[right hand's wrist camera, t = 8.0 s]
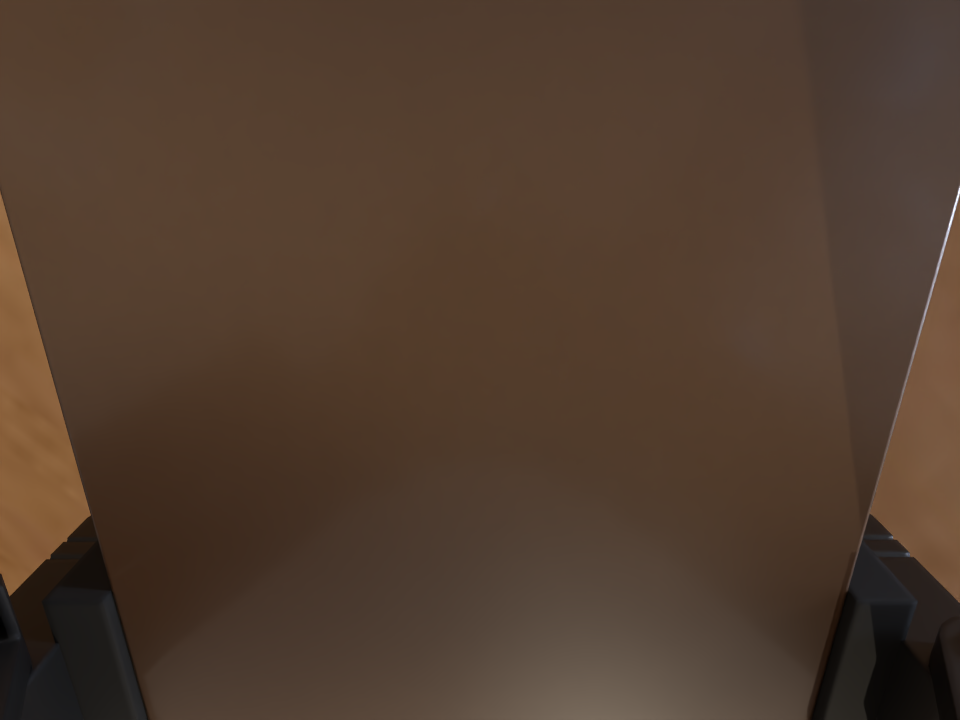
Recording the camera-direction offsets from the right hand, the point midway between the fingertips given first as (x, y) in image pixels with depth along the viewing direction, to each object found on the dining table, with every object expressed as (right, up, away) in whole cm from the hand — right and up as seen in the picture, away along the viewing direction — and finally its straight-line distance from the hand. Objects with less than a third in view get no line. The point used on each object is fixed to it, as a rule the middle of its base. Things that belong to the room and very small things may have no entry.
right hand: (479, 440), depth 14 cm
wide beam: (0, +26, -10) cm, 28 cm away
